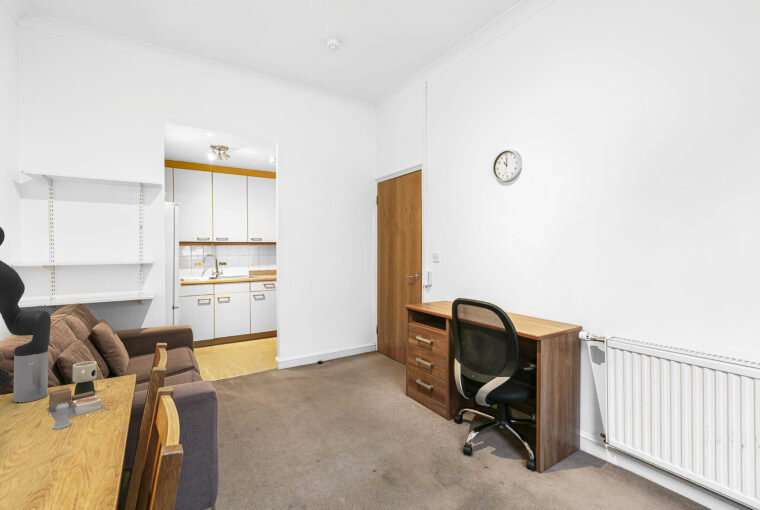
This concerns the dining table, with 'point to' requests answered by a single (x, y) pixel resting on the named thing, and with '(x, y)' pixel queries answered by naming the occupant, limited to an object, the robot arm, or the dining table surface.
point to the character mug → (84, 376)
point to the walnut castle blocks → (65, 397)
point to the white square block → (86, 405)
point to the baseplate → (70, 412)
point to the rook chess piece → (62, 417)
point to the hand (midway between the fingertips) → (7, 379)
